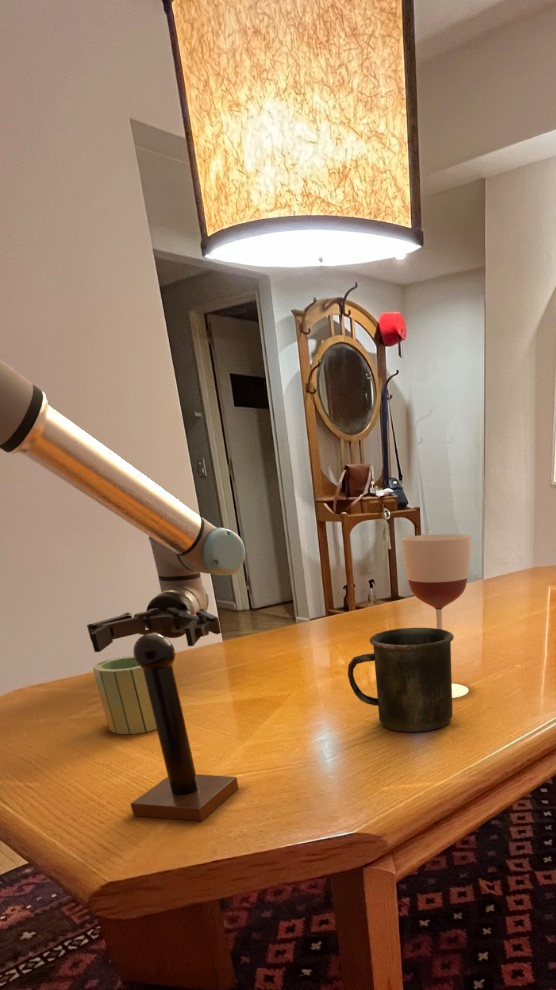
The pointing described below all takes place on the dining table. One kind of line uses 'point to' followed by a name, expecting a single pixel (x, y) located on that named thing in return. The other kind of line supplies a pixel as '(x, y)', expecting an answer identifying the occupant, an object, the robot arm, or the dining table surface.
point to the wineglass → (438, 573)
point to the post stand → (174, 744)
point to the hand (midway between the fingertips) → (142, 640)
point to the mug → (410, 678)
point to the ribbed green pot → (124, 696)
